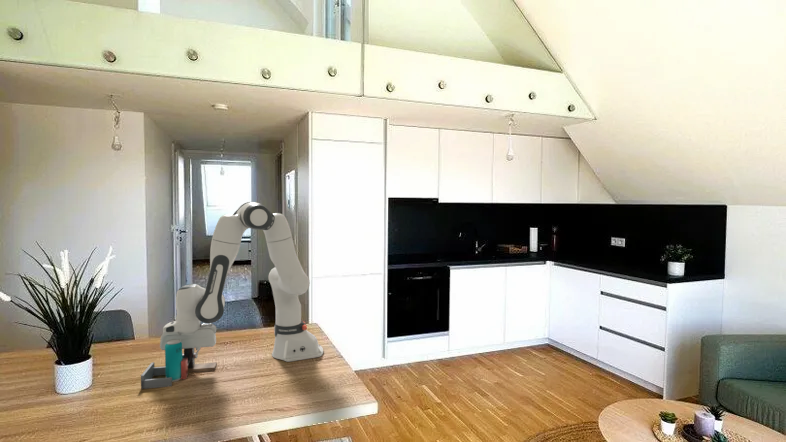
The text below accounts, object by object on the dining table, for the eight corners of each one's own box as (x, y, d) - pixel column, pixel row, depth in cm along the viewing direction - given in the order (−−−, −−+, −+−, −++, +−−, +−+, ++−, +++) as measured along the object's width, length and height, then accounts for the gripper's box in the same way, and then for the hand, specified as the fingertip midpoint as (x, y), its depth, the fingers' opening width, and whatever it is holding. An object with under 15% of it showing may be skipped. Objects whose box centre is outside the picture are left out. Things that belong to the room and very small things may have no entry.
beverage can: (185, 376, 160) (185, 338, 159) (176, 383, 154) (175, 344, 153) (172, 375, 161) (171, 338, 160) (162, 382, 155) (161, 343, 154)
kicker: (194, 366, 168) (194, 345, 168) (188, 378, 157) (187, 356, 157) (186, 367, 167) (185, 346, 167) (179, 379, 157) (178, 356, 156)
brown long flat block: (216, 365, 171) (216, 362, 171) (214, 370, 166) (214, 367, 166) (174, 368, 167) (174, 365, 167) (171, 373, 162) (171, 370, 162)
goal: (179, 372, 163) (179, 360, 163) (171, 386, 152) (171, 373, 152) (151, 374, 161) (151, 362, 161) (141, 389, 149) (140, 375, 149)
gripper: (217, 320, 170) (218, 353, 171) (163, 323, 165) (163, 357, 166) (215, 325, 164) (215, 359, 165) (158, 328, 159) (159, 363, 160)
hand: (189, 358), depth 166 cm, fingers open, 3 cm apart
